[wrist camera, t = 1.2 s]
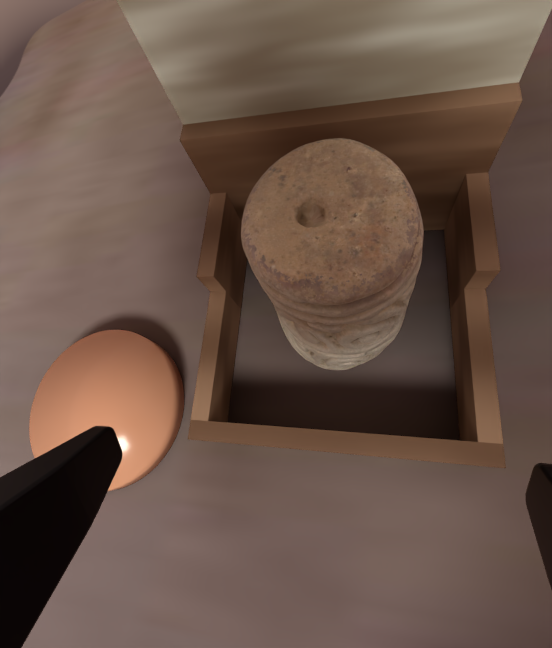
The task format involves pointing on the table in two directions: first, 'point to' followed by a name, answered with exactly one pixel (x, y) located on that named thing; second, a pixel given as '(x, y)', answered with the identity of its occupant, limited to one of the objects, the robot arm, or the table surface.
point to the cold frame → (356, 124)
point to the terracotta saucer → (111, 399)
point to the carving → (335, 249)
